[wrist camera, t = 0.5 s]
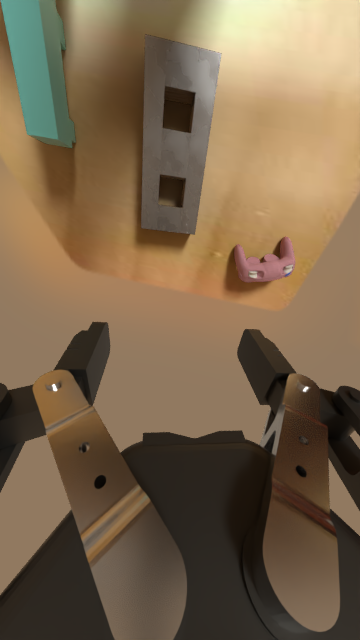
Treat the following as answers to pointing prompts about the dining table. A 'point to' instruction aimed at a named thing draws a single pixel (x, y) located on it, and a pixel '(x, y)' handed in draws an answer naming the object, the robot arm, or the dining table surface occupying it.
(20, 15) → the two prong clip
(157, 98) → the slotted rail
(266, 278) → the video game controller
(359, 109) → the dining table surface
